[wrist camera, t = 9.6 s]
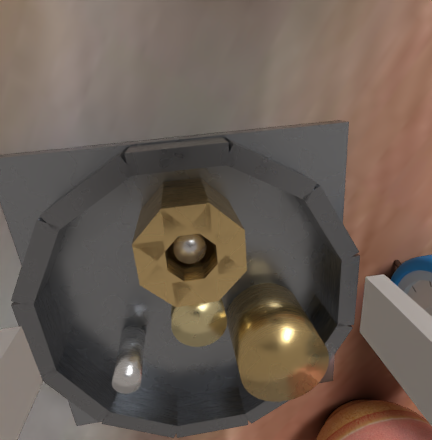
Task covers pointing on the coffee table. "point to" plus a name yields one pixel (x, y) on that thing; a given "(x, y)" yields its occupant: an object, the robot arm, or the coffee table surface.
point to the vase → (374, 422)
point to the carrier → (187, 253)
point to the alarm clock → (416, 280)
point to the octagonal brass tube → (187, 225)
